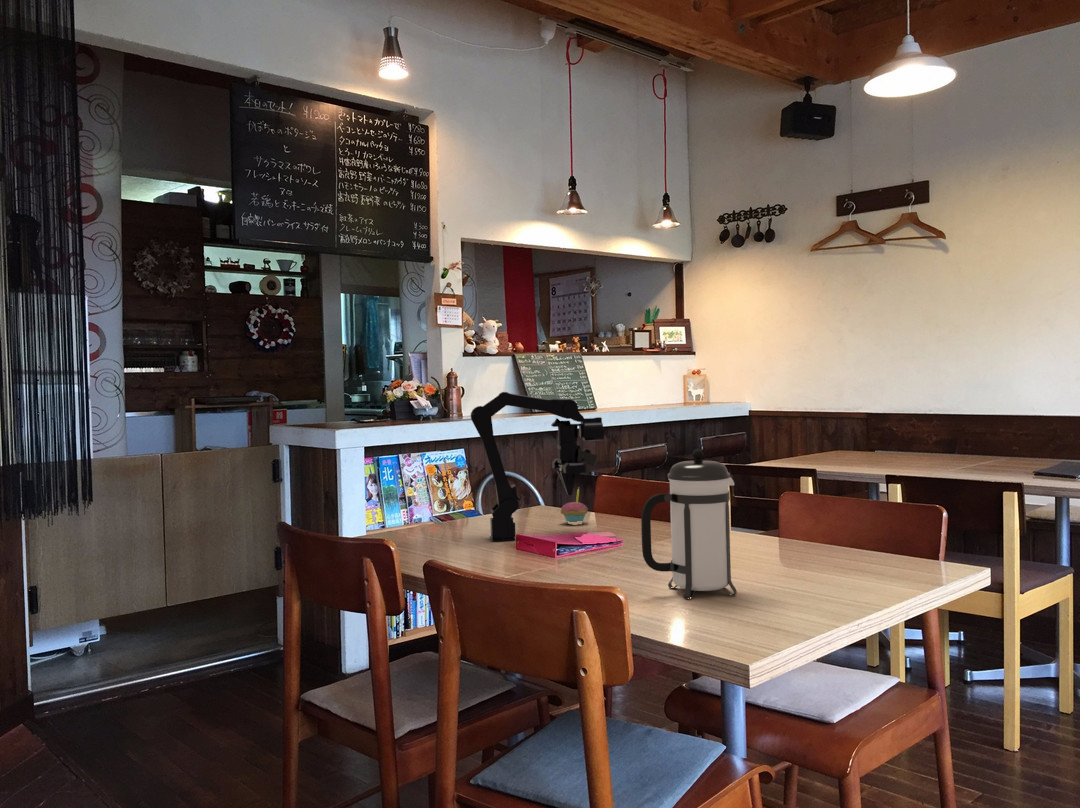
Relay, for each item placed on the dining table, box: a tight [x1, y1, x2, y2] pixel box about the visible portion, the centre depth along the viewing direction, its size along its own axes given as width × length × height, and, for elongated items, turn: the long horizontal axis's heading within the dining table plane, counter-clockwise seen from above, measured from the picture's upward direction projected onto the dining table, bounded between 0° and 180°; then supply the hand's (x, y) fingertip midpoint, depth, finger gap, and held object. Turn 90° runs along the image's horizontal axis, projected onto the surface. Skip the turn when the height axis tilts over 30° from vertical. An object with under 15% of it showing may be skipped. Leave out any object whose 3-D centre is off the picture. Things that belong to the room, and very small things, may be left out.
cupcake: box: [560, 487, 589, 522], centre depth 267 cm, size 9×8×12 cm
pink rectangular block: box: [587, 531, 617, 539], centre depth 236 cm, size 8×2×7 cm
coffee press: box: [640, 448, 738, 600], centre depth 176 cm, size 17×16×30 cm
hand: (569, 495), depth 246 cm, fingers closed
